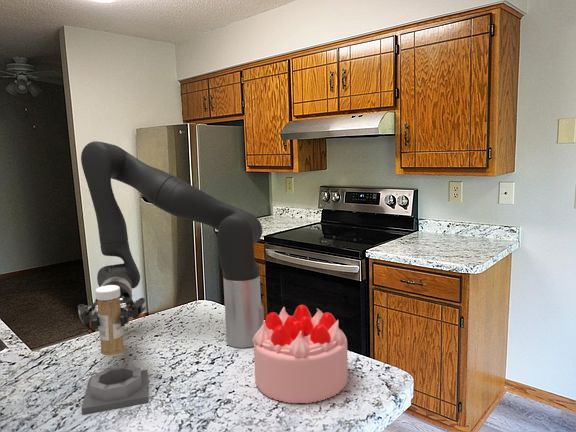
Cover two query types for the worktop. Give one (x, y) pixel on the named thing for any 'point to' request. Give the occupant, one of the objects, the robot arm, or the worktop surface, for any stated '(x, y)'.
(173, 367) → the worktop surface
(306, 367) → the cake
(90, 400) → the barrel socket
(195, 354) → the worktop surface
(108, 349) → the sprinkles bottle
